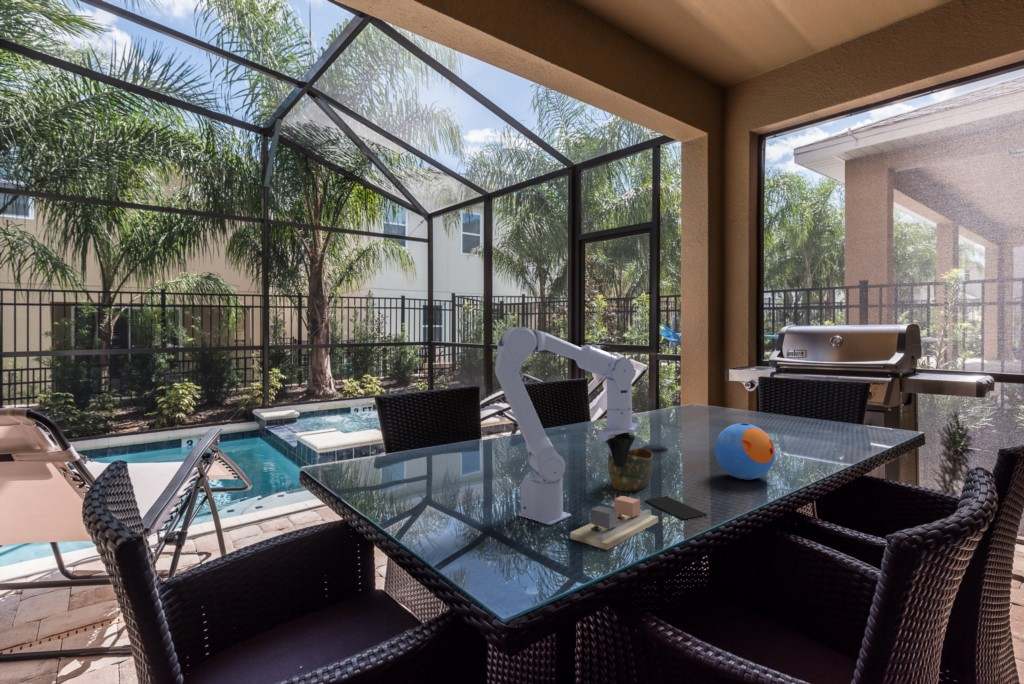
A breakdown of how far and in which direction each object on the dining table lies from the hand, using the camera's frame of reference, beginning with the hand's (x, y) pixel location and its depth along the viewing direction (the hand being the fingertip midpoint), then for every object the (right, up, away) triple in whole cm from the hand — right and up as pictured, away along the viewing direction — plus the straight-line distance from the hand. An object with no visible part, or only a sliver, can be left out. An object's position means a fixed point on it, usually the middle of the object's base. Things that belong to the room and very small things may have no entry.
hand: (620, 466), depth 127 cm
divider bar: (-2, -10, -14) cm, 17 cm away
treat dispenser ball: (+40, -9, +25) cm, 48 cm away
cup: (+7, -10, +20) cm, 24 cm away
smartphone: (+13, -11, +1) cm, 17 cm away
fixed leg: (-7, -9, -16) cm, 20 cm away
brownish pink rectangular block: (0, -9, -10) cm, 13 cm away
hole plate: (-3, -11, -12) cm, 17 cm away
